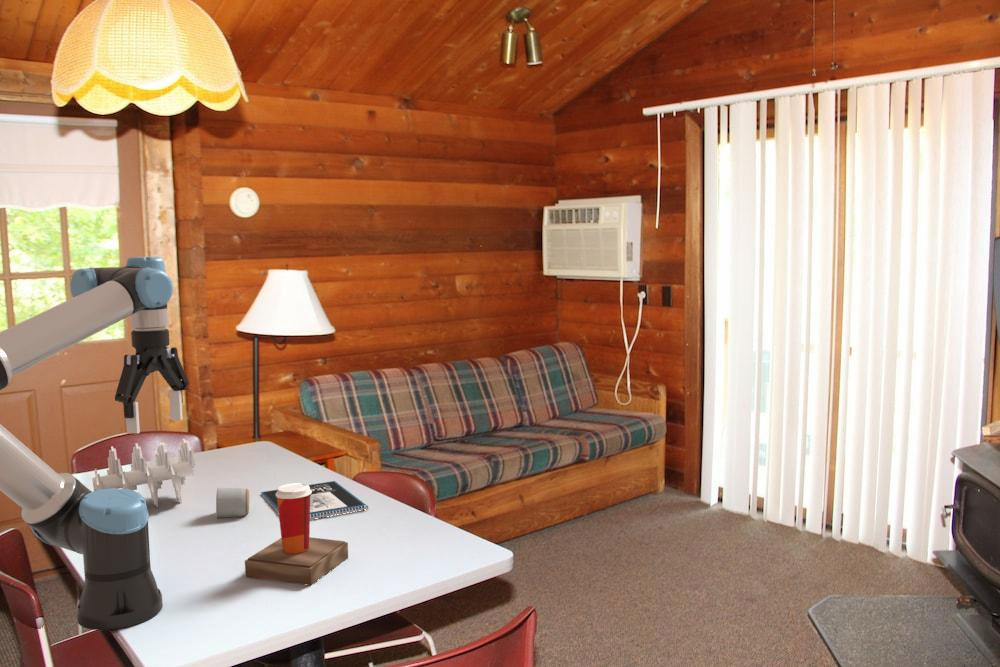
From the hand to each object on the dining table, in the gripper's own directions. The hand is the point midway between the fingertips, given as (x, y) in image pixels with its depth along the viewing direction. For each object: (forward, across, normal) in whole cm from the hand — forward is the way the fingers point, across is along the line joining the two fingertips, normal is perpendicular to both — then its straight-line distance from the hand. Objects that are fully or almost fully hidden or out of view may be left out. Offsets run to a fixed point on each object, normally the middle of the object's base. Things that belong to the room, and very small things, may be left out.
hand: (155, 426), depth 184 cm
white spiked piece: (+32, -34, -34) cm, 58 cm away
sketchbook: (+32, -50, +8) cm, 60 cm away
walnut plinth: (+32, -8, +29) cm, 44 cm away
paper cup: (+28, -8, +29) cm, 41 cm away
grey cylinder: (+32, -35, -7) cm, 48 cm away
